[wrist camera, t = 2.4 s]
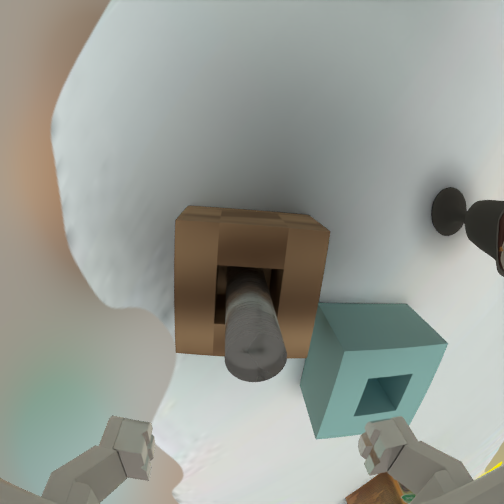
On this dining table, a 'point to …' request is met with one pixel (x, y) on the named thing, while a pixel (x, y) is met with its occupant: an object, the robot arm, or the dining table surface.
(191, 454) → the dining table surface
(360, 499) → the milk carton
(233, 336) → the peg
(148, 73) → the dining table surface
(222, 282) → the socket
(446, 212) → the sundae
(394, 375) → the teal storage box
